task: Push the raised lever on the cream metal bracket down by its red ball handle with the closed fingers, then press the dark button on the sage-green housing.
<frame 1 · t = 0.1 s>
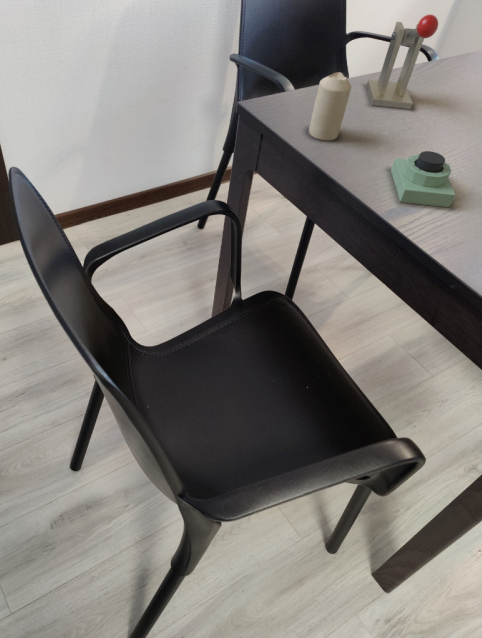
lever: (417, 32, 92), point 13 cm above the table, hinge at 25.0°
button: (430, 162, 80), point 4 cm above the table, slide at 0.1 cm
bracket: (387, 97, 106), on the table
button box: (419, 188, 83), on the table
candle: (322, 134, 94), on the table
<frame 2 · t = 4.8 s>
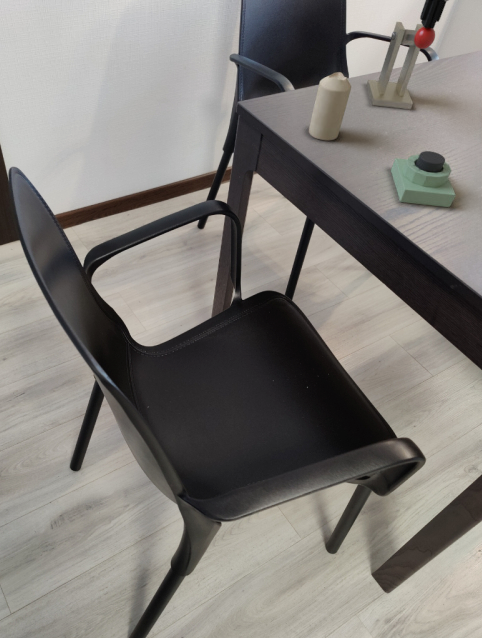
hand: (427, 25, 87), 16 cm above the table, tool pointing down, fingers closed
lever: (416, 37, 93), point 13 cm above the table, hinge at 16.6°, touching gripper
everything else where it was.
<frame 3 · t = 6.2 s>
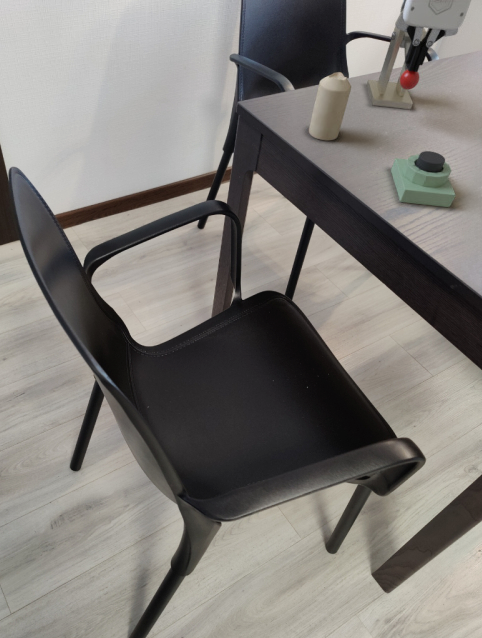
hand: (411, 68, 93), 9 cm above the table, tool pointing down, fingers closed
lever: (408, 58, 96), point 9 cm above the table, hinge at -19.7°, touching gripper
everything else where it was.
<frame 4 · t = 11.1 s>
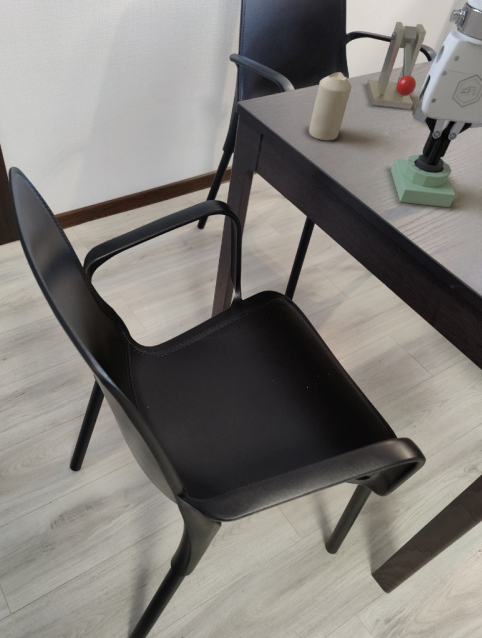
hand: (430, 159, 80), 5 cm above the table, tool pointing down, fingers closed
lever: (406, 62, 96), point 8 cm above the table, hinge at -27.5°
button: (429, 165, 80), point 4 cm above the table, slide at -0.4 cm, touching gripper
everything else where it was.
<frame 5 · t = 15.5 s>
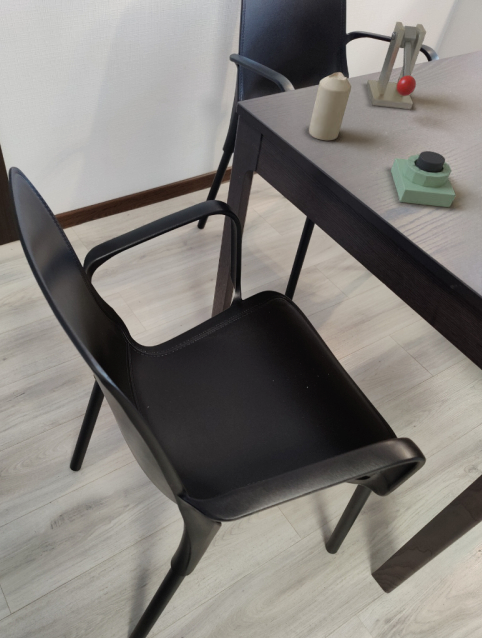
button: (430, 162, 80), point 4 cm above the table, slide at 0.1 cm
everything else where it was.
at the end: lever at -28° (first picture: +25°); button pushed in 1.1 cm at the most during the clip, back to where it started at the end; button slide at 0.1 cm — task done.
